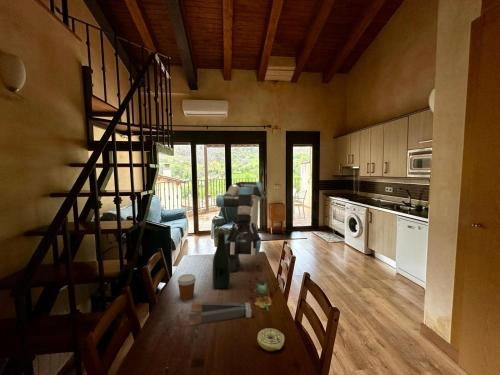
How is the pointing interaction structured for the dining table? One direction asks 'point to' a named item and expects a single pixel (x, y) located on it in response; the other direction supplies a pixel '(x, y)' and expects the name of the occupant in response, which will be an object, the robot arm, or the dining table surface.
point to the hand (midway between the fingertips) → (242, 254)
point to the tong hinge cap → (247, 310)
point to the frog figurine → (262, 289)
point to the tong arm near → (216, 315)
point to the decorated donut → (268, 343)
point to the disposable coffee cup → (186, 286)
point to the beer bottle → (221, 265)
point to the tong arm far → (213, 306)
